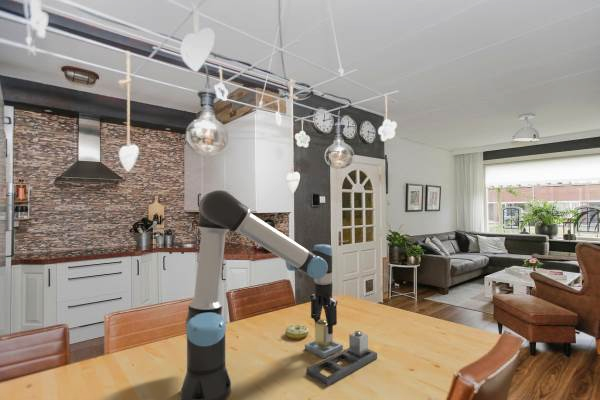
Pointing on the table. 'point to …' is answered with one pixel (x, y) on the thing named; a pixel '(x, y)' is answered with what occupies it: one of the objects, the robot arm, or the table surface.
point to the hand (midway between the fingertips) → (323, 339)
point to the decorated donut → (296, 331)
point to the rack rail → (339, 366)
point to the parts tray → (326, 351)
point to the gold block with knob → (321, 334)
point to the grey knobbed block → (358, 344)
